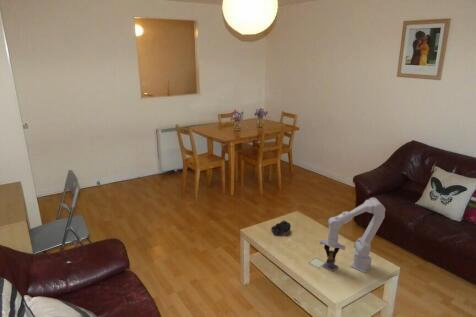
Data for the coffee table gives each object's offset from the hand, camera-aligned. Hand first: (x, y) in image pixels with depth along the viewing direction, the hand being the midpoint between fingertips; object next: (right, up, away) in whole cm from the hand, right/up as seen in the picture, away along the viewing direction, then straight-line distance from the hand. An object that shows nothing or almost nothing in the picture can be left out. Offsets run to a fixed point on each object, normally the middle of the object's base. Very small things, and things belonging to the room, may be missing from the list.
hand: (331, 256), depth 203 cm
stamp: (0, -3, +1) cm, 4 cm away
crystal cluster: (-25, +6, +42) cm, 49 cm away
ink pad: (0, -7, +2) cm, 7 cm away
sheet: (-7, -6, +6) cm, 11 cm away
